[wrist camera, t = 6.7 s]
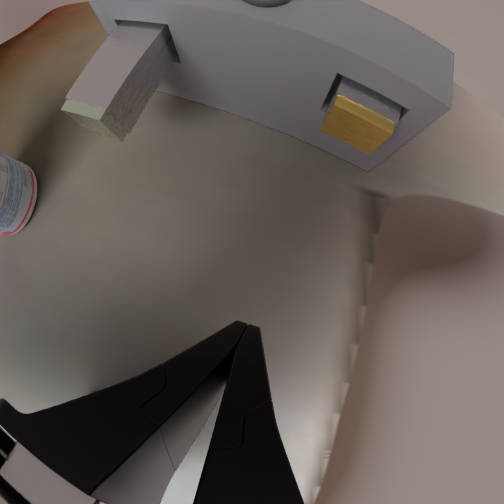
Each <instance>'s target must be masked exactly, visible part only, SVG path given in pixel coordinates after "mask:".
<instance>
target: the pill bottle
mask: <svg viewBox="0 0 504 504" xmlns="http://www.w3.org/2000/svg"><path fill="white" fill-rule="evenodd" d="M36 198H37V180H36V177H35V174H34V172H33V170H32V169H31V168H30V167H29V166H28V165H26V164H24V163H22V162H20V161H18V160H15V159H13V158H11V157H9V156H7V155H5V154H2V153H0V234H3V235H12V234H15V233H17V232H19V231H20V230H21V229H23V227H24V226H25V225H26V224H27V222H28V220H29V219H30V217H31V214H32V212H33V209H34V206H35V203H36Z"/></svg>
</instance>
